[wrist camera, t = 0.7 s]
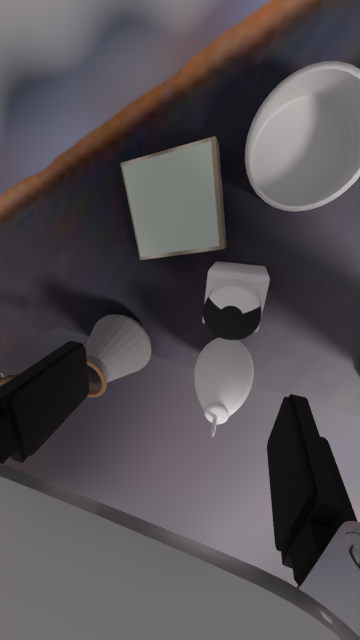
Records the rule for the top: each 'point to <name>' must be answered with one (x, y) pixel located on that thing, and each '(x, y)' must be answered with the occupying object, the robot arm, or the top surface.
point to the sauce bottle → (223, 379)
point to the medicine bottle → (235, 299)
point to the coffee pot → (112, 351)
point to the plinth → (177, 200)
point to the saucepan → (307, 138)
